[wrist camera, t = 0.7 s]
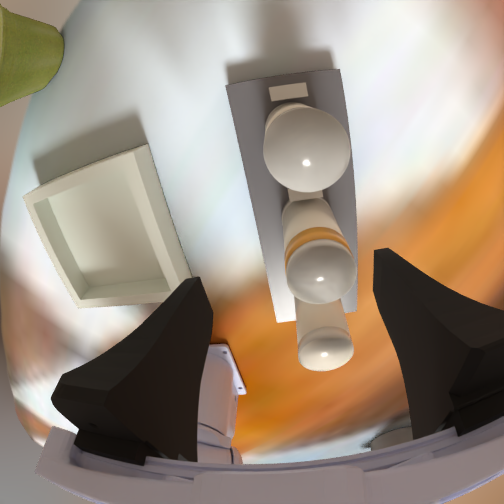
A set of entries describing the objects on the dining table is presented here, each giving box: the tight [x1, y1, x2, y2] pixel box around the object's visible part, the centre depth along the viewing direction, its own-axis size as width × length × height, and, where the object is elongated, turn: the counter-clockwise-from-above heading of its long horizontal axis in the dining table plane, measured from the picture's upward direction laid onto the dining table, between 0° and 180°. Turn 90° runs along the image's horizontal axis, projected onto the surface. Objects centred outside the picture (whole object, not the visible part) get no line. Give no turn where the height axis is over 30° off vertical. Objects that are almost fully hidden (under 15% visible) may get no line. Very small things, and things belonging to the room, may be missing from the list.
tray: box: [23, 144, 193, 308], centre depth 22 cm, size 12×12×3 cm
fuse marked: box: [282, 197, 357, 304], centre depth 17 cm, size 4×4×7 cm
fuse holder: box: [225, 69, 358, 322], centre depth 20 cm, size 19×7×4 cm, turn 12°
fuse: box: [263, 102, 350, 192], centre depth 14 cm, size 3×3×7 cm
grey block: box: [370, 427, 413, 451], centre depth 40 cm, size 13×10×10 cm
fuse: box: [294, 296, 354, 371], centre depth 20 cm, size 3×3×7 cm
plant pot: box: [0, 4, 64, 107], centre depth 11 cm, size 9×9×9 cm
